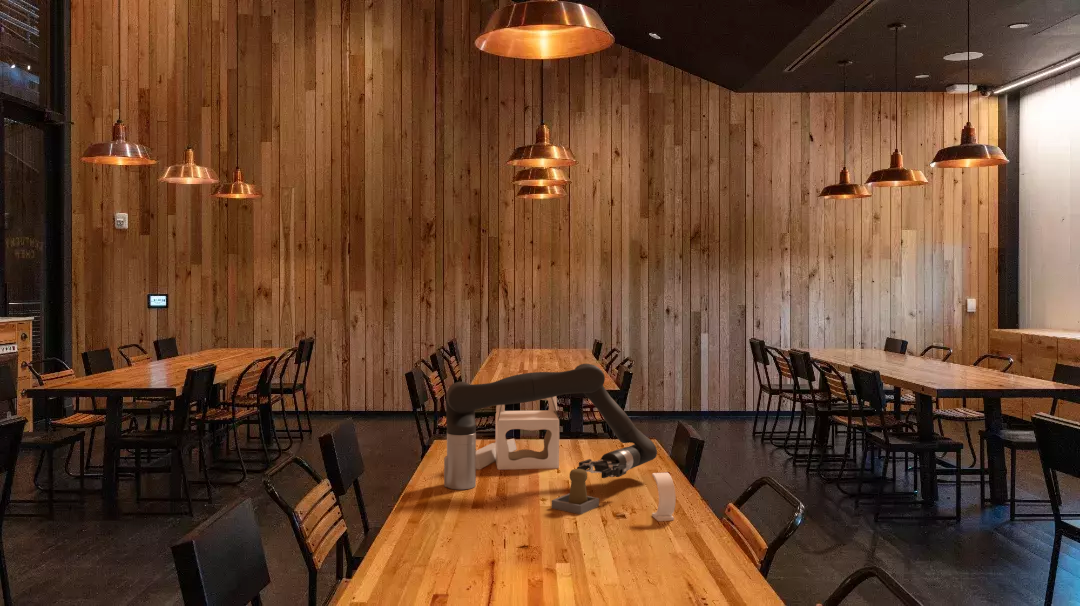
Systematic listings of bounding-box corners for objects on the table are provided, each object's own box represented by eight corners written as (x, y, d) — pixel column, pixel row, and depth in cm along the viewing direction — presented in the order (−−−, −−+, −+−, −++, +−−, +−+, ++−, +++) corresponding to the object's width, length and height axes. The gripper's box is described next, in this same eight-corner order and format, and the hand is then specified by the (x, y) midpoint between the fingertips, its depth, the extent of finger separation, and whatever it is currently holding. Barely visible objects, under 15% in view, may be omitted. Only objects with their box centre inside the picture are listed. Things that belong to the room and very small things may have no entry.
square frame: (551, 508, 214) (551, 500, 214) (570, 500, 222) (570, 492, 222) (580, 514, 208) (581, 506, 208) (599, 505, 216) (599, 498, 216)
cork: (566, 504, 218) (566, 467, 217) (586, 504, 218) (587, 466, 218) (569, 510, 212) (569, 472, 211) (590, 510, 212) (590, 471, 212)
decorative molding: (455, 475, 263) (480, 470, 259) (452, 461, 263) (477, 456, 260) (494, 455, 295) (517, 450, 291) (491, 443, 295) (514, 438, 292)
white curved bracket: (667, 514, 208) (667, 472, 208) (675, 521, 202) (676, 477, 202) (651, 515, 207) (652, 473, 207) (659, 522, 201) (660, 478, 201)
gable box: (554, 459, 275) (555, 384, 274) (559, 468, 262) (560, 389, 261) (494, 461, 272) (495, 385, 272) (496, 470, 259) (497, 390, 258)
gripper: (597, 447, 239) (570, 457, 225) (637, 453, 230) (611, 463, 217) (597, 470, 239) (570, 481, 225) (636, 477, 231) (610, 489, 217)
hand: (590, 472), depth 221 cm, fingers open, 8 cm apart
